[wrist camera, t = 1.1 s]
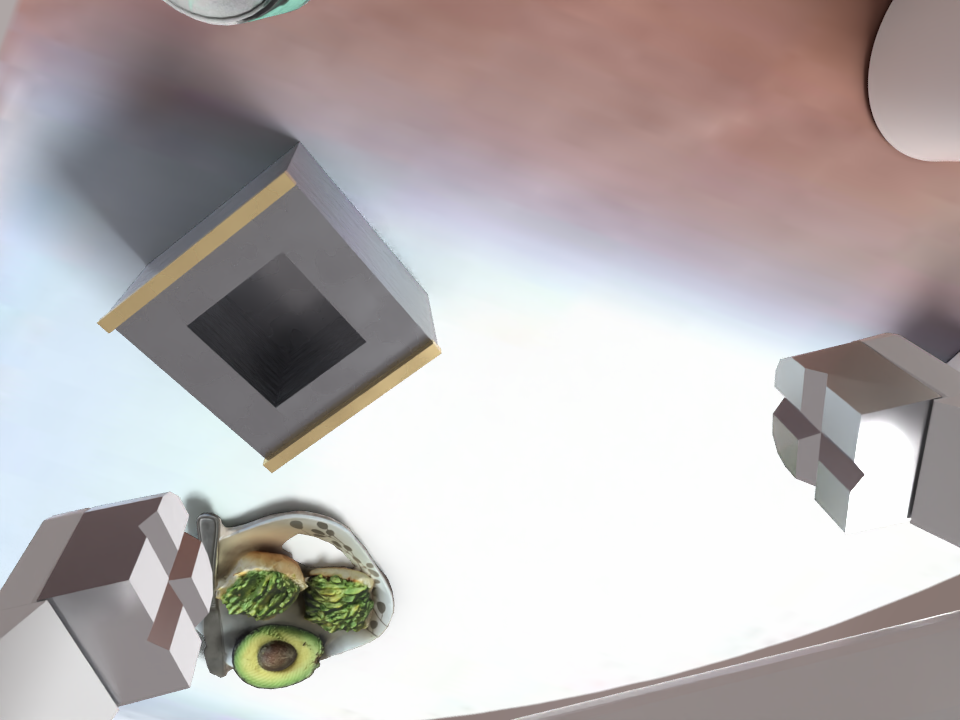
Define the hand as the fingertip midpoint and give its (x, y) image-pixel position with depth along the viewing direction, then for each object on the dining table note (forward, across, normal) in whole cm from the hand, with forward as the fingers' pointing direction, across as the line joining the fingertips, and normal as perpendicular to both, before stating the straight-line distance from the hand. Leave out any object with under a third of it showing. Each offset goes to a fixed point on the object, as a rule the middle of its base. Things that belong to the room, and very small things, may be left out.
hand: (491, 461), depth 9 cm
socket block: (+38, +9, +10) cm, 40 cm away
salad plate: (+38, +18, +38) cm, 57 cm away
